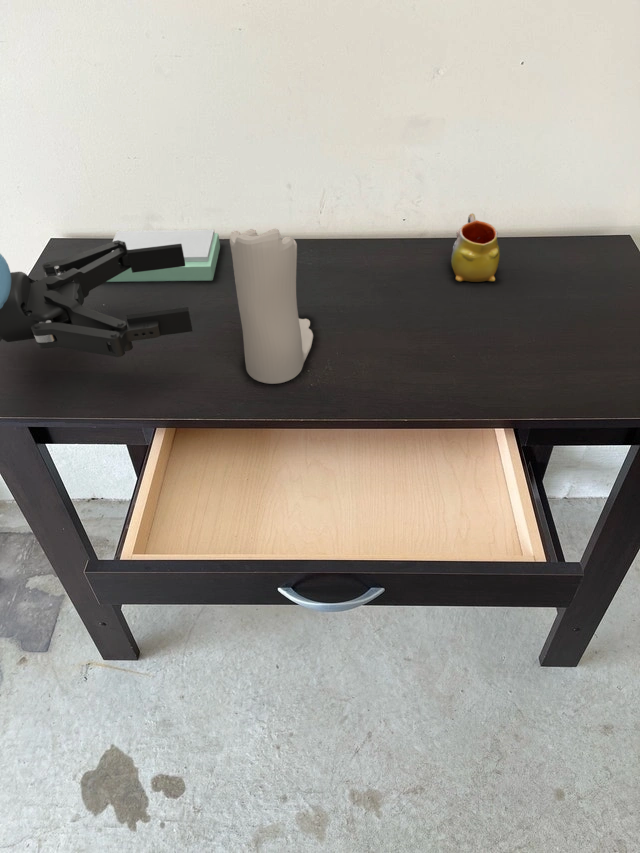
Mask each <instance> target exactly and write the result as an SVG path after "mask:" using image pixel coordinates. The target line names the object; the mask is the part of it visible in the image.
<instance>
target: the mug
mask: <svg viewBox="0 0 640 853" xmlns="http://www.w3.org/2000/svg"><path fill="white" fill-rule="evenodd" d="M498 235H499V232H498V231H497V229H496V228H495V227H494V226H493V225H492V224H490V223H488V222H485V221H481V220H478V219H476V215H475V213H473V212H472V213H470V214H469V215H468V217H467V223H465V224H463V225H462V226H461V227H460V228H459V229H458V230H457V231H456V239H455V241H454V243H453V246H452V252H451V256H450V265H451V268H452V272H453V273H454V275H455V281H457V282H471V283H482V282H491V283H492V282H496V277H495V274H496V273H497V271H498V268H499V265H500V259H501V258H500V257H501V252H500V245H499V241H498Z"/></svg>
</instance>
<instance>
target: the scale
mask: <svg viewBox="0 0 640 853" xmlns="http://www.w3.org/2000/svg"><path fill="white" fill-rule="evenodd" d="M219 235H220V234H219V233H218V232H215V229H213V228H209V229H143V230H141V229H140V230H139V229H136V230H130V229H129V230H117V231H116V233H115V235H114V237H113V240H112V242H113V241H116V240H119V241H123V242H125V243H126V247H127V250H132V249H140V248H148V247H157V246H165V245H174V244H182V249H183V255H184V260H185V266H183V267H175V268H167V269H158V270H150V271H142V272H134V273H132V270H131V268H129V269H128V270H126V271H124V272H122V273H121V274H119V275H117V276H115V277H113V278H112V279H110V280H108V281H106V282H105V283H114V282H116V283H117V282H118V283H121V282H123V283H124V282H126V283H127V282H195V281H196V282H200V281H201V282H203V281H204V282H205V281H209V282H210V281H213V280H214V276H215V273H216V267H217V263H218V259H219V254H220V249H221V242H220V236H219ZM113 251H114V250H113ZM119 264H120V263H119Z"/></svg>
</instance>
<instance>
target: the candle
mask: <svg viewBox="0 0 640 853" xmlns="http://www.w3.org/2000/svg"><path fill="white" fill-rule="evenodd" d="M229 246H230V252H231V257H232V266H233V275H234V282H235V284H234V285H235V290H236V297H237V304H238V310H239V316H240V321H241V322H240V323H241V328H242V338H243V339H242V340H243V353H244V363H245V370H246V373H247V374H248V376H250V377H251V378H252V379H253V380H255V381H257V382H260V383H264V384H270V385H274V384H275V385H276V384H282V383H285V382H289V381H290V380H293V379H295V378H296V377H297V376H298V375H299V374H300V373H301V372H302V370H303V367H304V364H305V361H306V360H307V357H308V355H309V353H310V351H311V348H312V344H313V341H314V340H313V339H314V333H313V330H312V329H310V327H311V321H310V320H309V318H300V317H299V312H298V310H299V309H298V300H297V267H298V266H297V264H298V263H297V262H298V244H297V241H296V240H295V239H294V238H292V237H291V236H290V235H288V236H284V237H283V238H282V236H281V232H280V229H279V228H272V229H269V230H266V231H265V232H263V233H260V234H258V232H257V230H256V229H253V228H250V229H247V230H245V231H244V232H242V233H241V232H240V231H238V230H233V231H231V233H230V235H229Z"/></svg>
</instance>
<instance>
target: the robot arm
mask: <svg viewBox="0 0 640 853" xmlns="http://www.w3.org/2000/svg"><path fill="white" fill-rule="evenodd" d="M113 250H114V251H113ZM119 263H120V264H119ZM183 266H185V260H184V255H183V249H182V244H174V245H165V246H157V247H148V248H140V249H132V250H127V247H126V243H125V242H123V241H119V240H116V241H113V240H112V241H110V242H108V243H105V244H103V245H99V246H97V247H94V248H91V249H88V250H84V251H83V252H80V253H77V254H74V255H72V256H68V257H66V258H63V259H59V260H53V261H47V262H44V263H43V264H42V270H43V272H44V275H45V277H43V278H39V279H36V280H35V279H32V278H31V277H29V275H28V274H26V273H25V272H23V271H12V272H11V269H10V267H9V264H8V262H7V260H6V258H5V257H4V256H3V255H2V253H0V342H1V341H2V340H3V341H5V342H6V343H13V342H19V341H21V342H22V341H28V340H35V342H36V344H37V347H38V348H39V349H51V348H61V349H66V350H71V351H79V352H85V353H91V354H98V355H103V356H108V357H109V356H110V357H115V358H121V357H123V356H124V355H126V352H130V351H132V350H133V348H134V344H133V342H134V341H143V340H149V339H156V338H159V337H161V336H169V335H176V334H177V335H178V334H183V333H191V332H193V325H192V320H191V314H190V310H189V307H188V306H186V307H177V308H171V309H170V308H169V309H163V310H155V311H147V312H141V313H132V314H131V313H130V314H127V315H126V321H125V320H123V319H119V318H116V317H114V316H111V315H108V314H105V313H102V312H100V311H96V310H94V309H91V308H89V307H86V306H84V302H85V299H86V298H87V297H88V296H89V294H90V292H91V291H92V290H94V289H96V288H98V287H99V286H101V285H103V284H105V283H107V282H106V281H108V280H110V279H112V278H113V277H115V276H117V275H119V274H121V273H122V272H124V271H126V270H128V269H129V268H131V270H132V273H134V272H142V271H150V270H158V269H167V268H175V267H183ZM108 342H109V343H108Z"/></svg>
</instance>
